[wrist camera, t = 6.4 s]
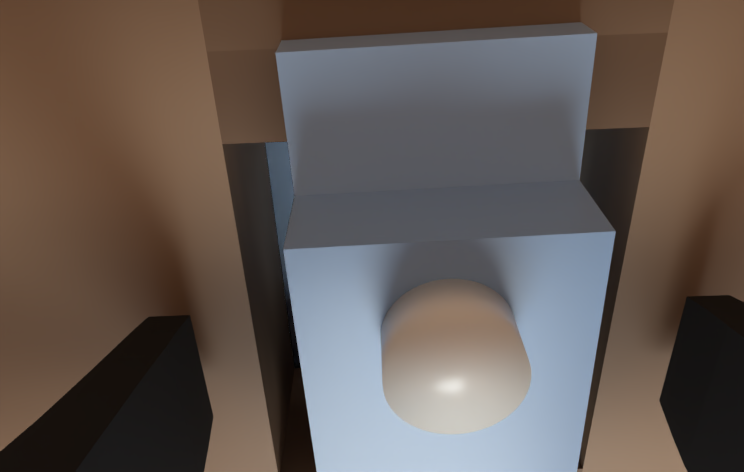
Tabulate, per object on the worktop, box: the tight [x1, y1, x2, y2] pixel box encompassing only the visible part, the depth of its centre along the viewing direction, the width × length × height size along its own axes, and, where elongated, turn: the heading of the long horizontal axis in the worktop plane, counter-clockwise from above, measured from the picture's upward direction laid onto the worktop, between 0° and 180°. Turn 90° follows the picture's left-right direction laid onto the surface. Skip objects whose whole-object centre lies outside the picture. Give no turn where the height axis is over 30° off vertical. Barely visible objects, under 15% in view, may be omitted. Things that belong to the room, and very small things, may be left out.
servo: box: [275, 22, 616, 472], centre depth 10 cm, size 9×4×6 cm, turn 3°
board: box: [0, 0, 744, 472], centre depth 11 cm, size 12×16×3 cm
